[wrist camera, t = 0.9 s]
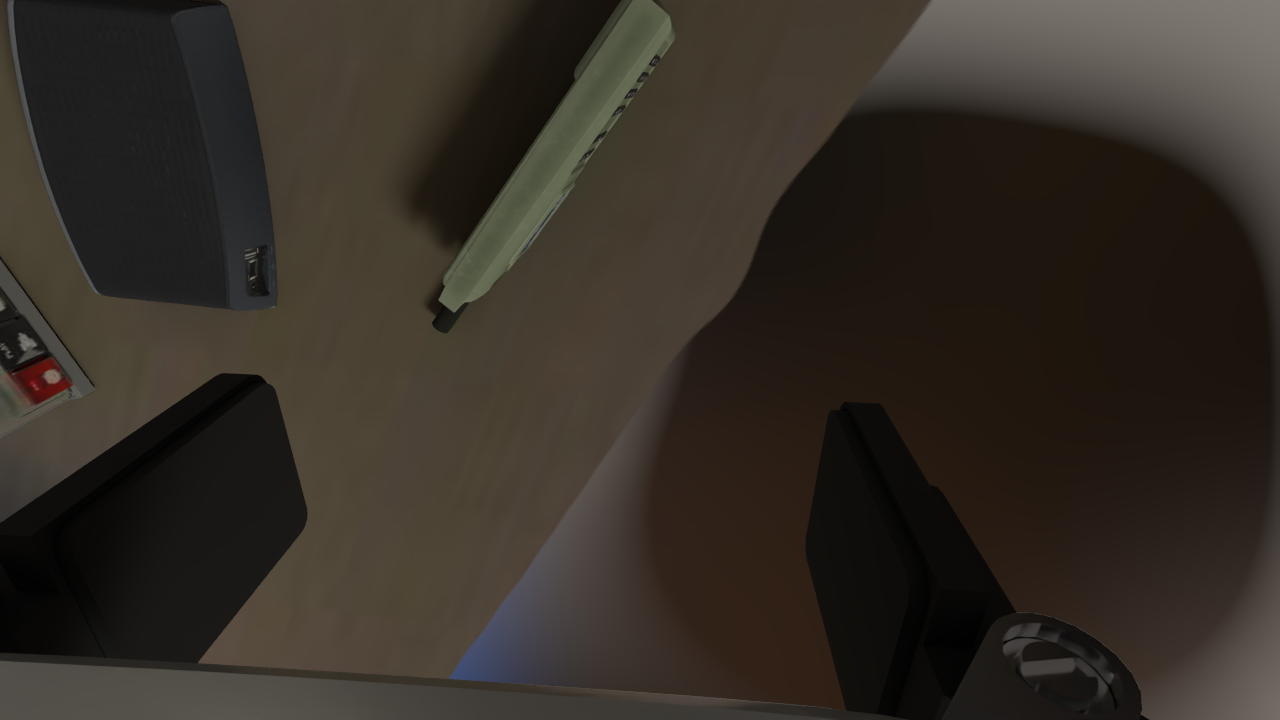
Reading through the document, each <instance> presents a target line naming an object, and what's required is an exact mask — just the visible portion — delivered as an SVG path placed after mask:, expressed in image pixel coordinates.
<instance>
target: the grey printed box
mask: <svg viewBox="0 0 1280 720" xmlns="http://www.w3.org/2000/svg"><path fill="white" fill-rule="evenodd" d="M93 391H95V389H94V387H93V386H92V384H91V383H90V381H89V379H88V378H87V377H86V376H85V375H84V373H83V372H82V371H81V369H80V368H79V367H78V365H77V364H76V362H75V361H74V360H73V358H72V357H71V356H70V354H69V353H68V352H67V350H66V349H65V347H64V346H63V345H62V343H61V342H60V341H59V339H58V338H57V336H56V335H55V334H54V332H53V331H52V330H51V328H50V327H49V325H48V324H47V323H46V321H45V320H44V319H43V317H42V316H41V315H40V313H39V312H38V310H37V309H36V308H35V306H34V305H33V304H32V302H31V301H30V299H29V298H28V297H27V295H26V294H25V293H24V291H23V290H22V288H21V287H20V286H19V284H18V283H17V282H16V280H15V279H14V278H13V276H12V275H11V273H10V272H9V271H8V269H7V268H6V267H5V265H4V264H3V262H2V261H1V260H0V438H2V437H4V436H5V435H7V434H9V433H11V432H13V431H14V430H16V429H18V428H20V427H22V426H24V425H25V424H27V423H29V422H31V421H33V420H34V419H36V418H38V417H40V416H42V415H43V414H45V413H47V412H49V411H51V410H52V409H54V408H56V407H58V406H60V405H62V404H63V403H65V402H67V401H69V400H73V399H77V398H81V397H84V396H86V395H87V394H89V393H91V392H93Z"/></svg>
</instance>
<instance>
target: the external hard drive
mask: <svg viewBox="0 0 1280 720" xmlns="http://www.w3.org/2000/svg"><path fill="white" fill-rule="evenodd" d="M7 18H8V28H9V36H10V44H11V49H12V55H13V62H14V68H15V73H16V79H17V84H18V88H19V93H20V97H21V102H22V106H23V111H24V115H25V119H26V123H27V126H28V130H29V134H30V138H31V141H32V145H33V149H34V152H35V155H36V159H37V162H38V165H39V169H40V171H41V174H42V177H43V180H44V183H45V186H46V189H47V192H48V195H49V197H50V200H51V202H52V205H53V207H54V210H55V212H56V215H57V217H58V219H59V222H60V224H61V227H62V229H63V231H64V233H65V236H66V238H67V240H68V242H69V245H70V247H71V249H72V251H73V253H74V255H75V257H76V259H77V261H78V263H79V266H80V267H81V269H82V271H83V273H84V275H85V277H86V279H87V281H88V282H89V284H90V286H91V288H92V289H93V290H94V292H96V293H97V294H100V295H104V296H110V297H118V298H128V299H137V300H147V301H157V302H167V303H177V304H186V305H195V306H204V307H213V308H223V309H231V310H236V311H247V310H259V309H266V308H274V307H276V301H277V273H276V258H275V244H274V234H273V224H272V215H271V207H270V200H269V193H268V185H267V179H266V173H265V166H264V160H263V154H262V149H261V144H260V138H259V133H258V128H257V122H256V117H255V113H254V108H253V103H252V98H251V94H250V90H249V85H248V81H247V76H246V72H245V68H244V64H243V60H242V56H241V52H240V48H239V45H238V41H237V37H236V33H235V30H234V26H233V22H232V19H231V16H230V13H229V10H228V7H227V6H225V5H221V4H214V3H205V2H196V1H186V0H7Z"/></svg>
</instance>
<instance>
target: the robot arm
mask: <svg viewBox="0 0 1280 720" xmlns="http://www.w3.org/2000/svg"><path fill="white" fill-rule="evenodd" d="M306 521H307V507H306V503H305V499H304V496H303V492H302V488H301V484H300V480H299V477H298V473H297V469H296V465H295V462H294V458H293V454H292V450H291V447H290V443H289V439H288V435H287V431H286V428H285V424H284V420H283V416H282V413H281V409H280V405H279V401H278V398H277V394H276V391H275V389H274V388H273V386H272V385H270V384H267V383H266V381H265V380H264V379H263V377H261V376H259V375H251V374H229V373H222V374H219V375H217V376H215V377H214V378H212V379H211V380H209V381H208V382H206V383H205V384H204V385H202V386H201V387H199V388H198V389H196V390H195V391H193V392H192V393H190V394H189V395H187V396H186V397H184V398H183V399H182V400H180V401H179V402H177V403H176V404H174V405H173V406H171V407H170V408H168V409H167V410H165V411H164V412H162V413H161V414H160V415H158V416H157V417H155V418H154V419H152V420H151V421H149V422H148V423H146V424H145V425H143V426H142V427H140V428H139V429H138V430H136V431H135V432H133V433H132V434H130V435H129V436H127V437H126V438H124V439H123V440H121V441H120V442H118V443H117V444H116V445H114V446H113V447H111V448H110V449H108V450H107V451H105V452H104V453H102V454H101V455H99V456H98V457H97V458H95V459H94V460H92V461H91V462H89V463H88V464H86V465H85V466H83V467H82V468H80V469H79V470H77V471H76V472H75V473H73V474H72V475H70V476H69V477H67V478H66V479H64V480H63V481H61V482H60V483H58V484H57V485H55V486H54V487H53V488H51V489H50V490H48V491H47V492H45V493H44V494H42V495H41V496H39V497H38V498H36V499H35V500H33V501H32V502H31V503H29V504H28V505H26V506H25V507H23V508H22V509H20V510H19V511H17V512H16V513H14V514H13V515H11V516H10V517H9V518H7V519H6V520H4V521H3V522H1V523H0V720H1149V719H1147V718H1146V717H1144V716H1142V715H1141V712H1142V698H1141V691H1140V689H1139V687H1138V685H1137V683H1136V680H1135V678H1134V676H1133V674H1132V673H1131V672H1130V670H1129V669H1128V668H1127V667H1126V666H1125V665H1124V663H1123V662H1122V661H1121V660H1120V659H1119V657H1118V656H1117V655H1116V654H1114V653H1113V652H1112V651H1111V650H1110V649H1108V648H1107V647H1106V646H1105V645H1103V644H1102V643H1101V642H1100V641H1099V640H1098V639H1096V638H1094V637H1093V636H1091V635H1089V634H1087V633H1086V632H1084V631H1082V630H1081V629H1079V628H1077V627H1076V626H1073V625H1071V624H1068V623H1066V622H1063V621H1061V620H1059V619H1056V618H1054V617H1049V616H1045V615H1040V614H1035V613H1016V611H1015V609H1014V608H1013V607H1012V604H1011V603H1010V601H1009V600H1008V598H1007V596H1006V595H1005V593H1004V591H1003V590H1002V588H1001V586H1000V585H999V583H998V582H997V580H996V578H995V577H994V575H993V574H992V572H991V571H990V569H989V567H988V565H987V564H986V562H985V561H984V559H983V557H982V556H981V554H980V552H979V551H978V549H977V548H976V546H975V544H974V543H973V541H972V539H971V538H970V536H969V535H968V533H967V531H966V530H965V528H964V527H963V525H962V523H961V522H960V520H959V518H958V517H957V515H956V514H955V512H954V510H953V509H952V507H951V506H950V504H949V502H948V501H947V499H946V497H945V496H944V494H943V493H942V492H941V491H940V489H939V488H938V487H935V486H933V485H929V483H928V482H927V480H926V478H925V477H924V475H923V473H922V472H921V470H920V468H919V467H918V465H917V463H916V462H915V460H914V458H913V457H912V455H911V453H910V452H909V450H908V448H907V446H906V445H905V443H904V441H903V440H902V438H901V436H900V435H899V433H898V432H897V430H896V428H895V426H894V425H893V423H892V421H891V420H890V418H889V416H888V415H887V413H886V411H885V410H884V408H883V407H882V405H881V404H878V403H858V402H844V403H843V404H842V405H841V407H840V410H831V411H830V412H829V414H828V418H827V424H826V429H825V435H824V440H823V446H822V451H821V457H820V463H819V468H818V474H817V479H816V485H815V490H814V496H813V501H812V507H811V513H810V518H809V524H808V529H807V534H806V557H807V562H808V565H809V569H810V573H811V577H812V581H813V585H814V589H815V592H816V596H817V600H818V604H819V608H820V611H821V615H822V619H823V623H824V627H825V630H826V634H827V638H828V642H829V646H830V649H831V654H832V657H833V661H834V665H835V669H836V673H837V676H838V680H839V684H840V688H841V692H842V695H843V699H844V703H845V707H846V711H845V710H837V709H829V708H822V707H812V706H801V705H790V704H779V703H767V702H755V701H743V700H732V699H720V698H709V697H708V698H707V697H697V696H685V695H684V696H683V695H670V694H656V693H642V692H628V691H614V690H613V691H612V690H598V689H585V688H571V687H556V686H543V685H529V684H514V683H500V682H485V681H470V680H455V679H439V678H424V677H409V676H394V675H378V674H362V673H347V672H331V671H315V670H299V669H284V668H268V667H251V666H234V665H217V664H200V663H198V661H199V660H200V659H201V658H202V656H203V655H204V654H205V653H206V651H207V650H208V649H209V648H210V646H211V645H212V644H213V643H214V641H215V640H216V639H217V638H218V636H219V635H220V634H221V633H222V631H223V630H224V629H225V628H226V626H227V625H228V624H229V623H230V621H231V620H232V619H233V618H234V616H235V615H236V614H237V612H238V611H239V610H240V609H241V607H242V606H243V605H244V604H245V602H246V601H247V600H248V599H249V597H250V596H251V595H252V594H253V592H254V591H255V590H256V589H257V587H258V586H259V585H260V584H261V582H262V581H263V580H264V579H265V577H266V576H267V575H268V574H269V572H270V571H271V570H272V569H273V567H274V566H275V565H276V564H277V562H278V561H279V560H280V559H281V557H282V556H283V555H284V554H285V552H286V551H287V550H288V549H289V547H290V546H291V545H292V544H293V542H294V541H295V540H296V539H297V537H298V536H299V535H300V533H301V532H302V531H303V529H304V527H305V524H306Z"/></svg>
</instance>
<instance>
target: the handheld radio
mask: <svg viewBox="0 0 1280 720" xmlns="http://www.w3.org/2000/svg"><path fill="white" fill-rule="evenodd" d="M675 36H676V33H675V29H674V25H673V23H672V21H671V18H670V16H669V15H668V14H667V13H666V12H665V11H664V10H663V9H661V8H660V7H659V6H658V5H657V4H656V3H655V2H653V1H652V0H622V1H620V3H619V4H618V6H617V7H616V9H615V10H614V12H613V13H612V15H611V16H610V18H609V19H608V21H607V22H606V24H605V25H604V27H603V28H602V30H601V31H600V33H599V34H598V36H597V37H596V39H595V40H594V41H593V43H592V44H591V46H590V47H589V49H588V50H587V52H586V53H585V55H584V56H583V58H582V59H581V61H580V62H579V64H578V65H577V67H576V68H575V73H574V77H575V79H576V80H575V82H574V83H573V85H572V86H571V87H570V89H569V90H568V92H567V93H566V95H565V96H564V98H563V99H562V101H561V102H560V104H559V105H558V107H557V108H556V110H555V111H554V112H553V114H552V115H551V117H550V118H549V120H548V121H547V123H546V124H545V126H544V127H543V129H542V130H541V132H540V133H539V135H538V136H537V137H536V139H535V140H534V142H533V143H532V145H531V146H530V148H529V149H528V151H527V152H526V154H525V155H524V157H523V158H522V160H521V161H520V163H519V164H518V165H517V167H516V168H515V170H514V171H513V173H512V174H511V176H510V177H509V179H508V180H507V182H506V183H505V185H504V186H503V188H502V189H501V190H500V192H499V193H498V195H497V196H496V198H495V199H494V201H493V202H492V204H491V205H490V207H489V208H488V210H487V211H486V213H485V214H484V215H483V217H482V218H481V220H480V221H479V223H478V224H477V226H476V227H475V229H474V230H473V232H472V233H471V235H470V236H469V238H468V239H467V240H466V242H465V243H464V245H463V246H462V248H461V249H460V251H459V252H458V254H457V255H456V257H455V258H454V260H453V261H452V263H451V264H450V266H449V267H448V268H447V270H446V271H445V273H444V275H443V284H444V285H445V288H444V290H443V292H442V294H441V296H440V298H439V301H440V302H441V303H443V304H444V306H443V308H442V309H441V311H440V312H439V313H438V315H437V316H436V318H435V319H434V321H433V322H432V324H433V326H434V328H435V329H436V330H438V331H440V332H442V333H448V332H449V330H450V329H451V328H452V326H453V325H454V323H455V322H456V321H457V319H458V318H459V316H460V315H461V314H462V312H463V311H464V309H465V308H466V307H467V305H468V304H469V302H472V301H474V300H476V299H477V298H479V297H481V296H482V295H484V294H485V293H486V292H487V291H488V290H489V289H490V288H491V287H492V286H493V285H494V284H495V283H496V282H497V281H498V280H499V279H500V278H501V277H503V276H504V275H505V274H506V273H507V272H508V271H509V270H510V268H511V266H512V265H513V264H514V262H515V261H516V260H517V259H518V258H519V257H520V256H521V255H522V254H523V253H524V252H525V251H526V250H527V249H529V247H530V245H531V244H532V243H533V241H534V240H535V239H536V237H537V236H538V235H539V233H540V232H541V230H542V229H543V228H544V226H545V225H546V224H547V222H548V221H549V219H550V218H551V217H552V215H553V214H554V213H555V211H556V210H557V209H558V207H559V206H560V204H561V203H562V202H563V200H564V199H565V198H566V196H567V195H568V194H569V192H570V191H571V189H572V188H573V187H574V186H575V179H576V178H577V177H578V175H579V174H580V173H581V171H582V170H583V169H584V166H585V164H586V162H587V161H588V159H589V158H590V157H591V155H592V154H593V152H594V151H595V150H596V148H597V147H598V146H599V144H600V143H601V141H602V140H603V139H604V137H605V136H606V134H607V133H608V132H609V130H610V129H611V127H612V126H613V125H614V123H615V122H616V120H617V119H618V118H619V116H620V115H621V114H622V112H623V111H624V109H625V108H626V107H627V105H628V104H629V102H630V101H631V100H632V98H633V97H634V95H635V94H636V93H637V91H638V90H639V89H640V87H641V86H642V84H643V83H644V82H645V80H646V79H647V78H648V76H649V75H650V73H651V72H652V70H653V69H654V68H655V66H656V65H657V64H658V62H659V61H660V59H661V58H662V57H663V55H664V54H665V52H666V51H667V50H668V48H669V47H670V45H671V44H672V43H673V41H674V39H675Z"/></svg>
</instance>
